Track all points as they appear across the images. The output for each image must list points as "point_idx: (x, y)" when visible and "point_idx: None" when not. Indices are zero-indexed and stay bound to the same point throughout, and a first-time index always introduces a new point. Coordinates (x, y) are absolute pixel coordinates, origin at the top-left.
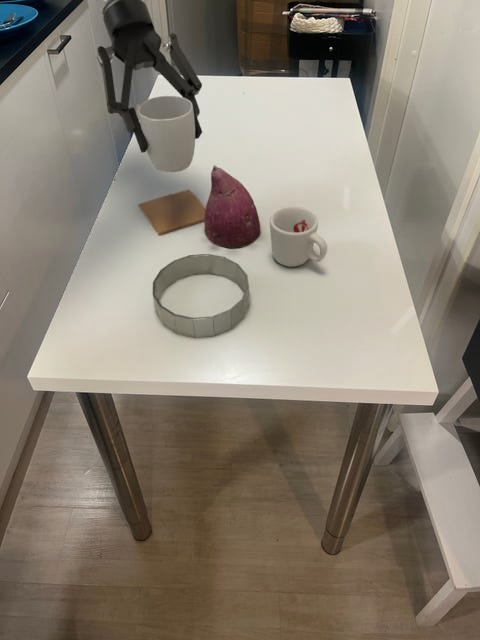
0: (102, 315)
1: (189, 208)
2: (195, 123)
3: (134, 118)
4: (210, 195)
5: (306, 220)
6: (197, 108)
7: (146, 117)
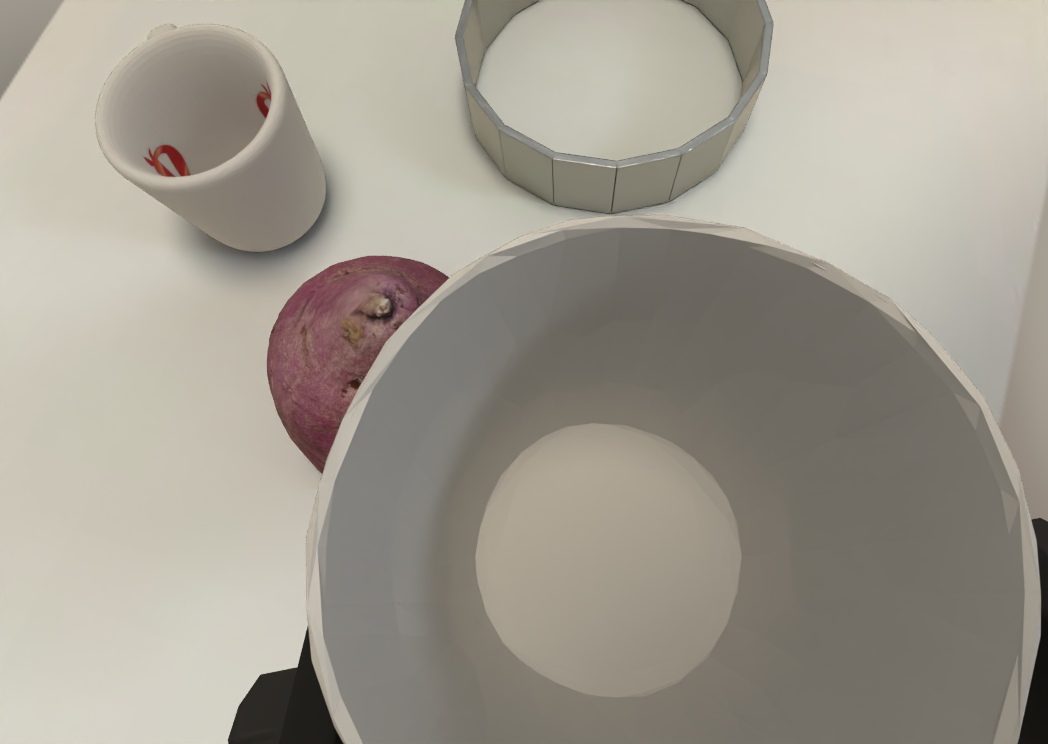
0: (917, 110)
1: None
2: None
3: (1045, 568)
4: None
5: (140, 149)
6: (249, 726)
7: (926, 338)
